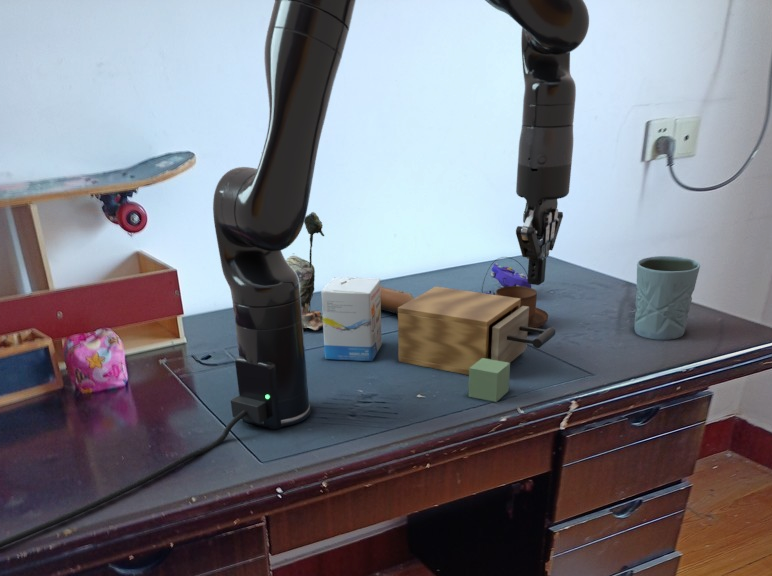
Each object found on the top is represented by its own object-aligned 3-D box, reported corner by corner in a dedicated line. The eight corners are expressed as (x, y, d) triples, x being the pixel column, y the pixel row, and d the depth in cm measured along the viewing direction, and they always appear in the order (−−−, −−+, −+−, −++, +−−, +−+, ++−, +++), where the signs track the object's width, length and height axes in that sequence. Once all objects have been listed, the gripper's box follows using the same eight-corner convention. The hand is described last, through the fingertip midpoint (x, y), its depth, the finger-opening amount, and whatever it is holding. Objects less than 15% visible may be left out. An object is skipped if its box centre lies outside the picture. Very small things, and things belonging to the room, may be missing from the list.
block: (496, 402, 123) (497, 373, 120) (468, 396, 125) (469, 367, 122) (508, 391, 126) (510, 362, 123) (481, 386, 128) (482, 357, 125)
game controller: (547, 274, 166) (527, 275, 158) (529, 311, 170) (509, 315, 162) (506, 252, 169) (485, 253, 161) (490, 290, 173) (468, 292, 165)
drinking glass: (699, 336, 144) (712, 266, 137) (650, 344, 141) (661, 274, 135) (664, 319, 152) (674, 253, 146) (617, 327, 149) (625, 259, 143)
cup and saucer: (517, 341, 144) (519, 306, 141) (467, 325, 152) (469, 292, 149) (561, 325, 151) (564, 291, 147) (511, 310, 158) (513, 278, 155)
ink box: (372, 362, 138) (370, 292, 131) (323, 359, 139) (319, 290, 133) (383, 344, 145) (381, 277, 138) (336, 342, 146) (332, 275, 140)
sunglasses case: (445, 311, 158) (434, 285, 152) (425, 337, 156) (412, 312, 151) (378, 293, 168) (365, 269, 163) (357, 318, 167) (344, 294, 161)
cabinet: (517, 352, 140) (520, 298, 135) (484, 378, 130) (487, 321, 126) (435, 337, 147) (435, 286, 142) (398, 361, 137) (397, 307, 132)
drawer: (559, 355, 136) (563, 311, 132) (532, 379, 127) (535, 334, 123) (448, 336, 145) (449, 294, 141) (415, 358, 136) (415, 314, 132)
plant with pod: (302, 313, 160) (294, 204, 150) (341, 326, 153) (335, 213, 143) (269, 323, 156) (258, 212, 145) (307, 337, 149) (298, 221, 138)
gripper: (537, 151, 123) (529, 269, 132) (501, 165, 113) (495, 291, 123) (586, 154, 119) (574, 275, 129) (553, 169, 110) (542, 298, 119)
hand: (535, 283), depth 126 cm, fingers closed
